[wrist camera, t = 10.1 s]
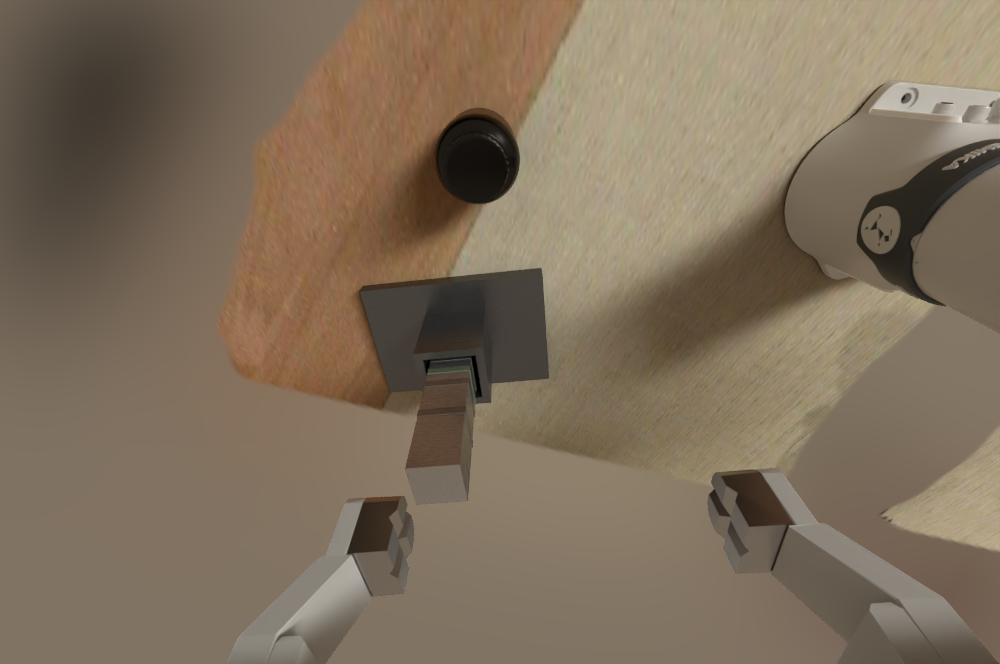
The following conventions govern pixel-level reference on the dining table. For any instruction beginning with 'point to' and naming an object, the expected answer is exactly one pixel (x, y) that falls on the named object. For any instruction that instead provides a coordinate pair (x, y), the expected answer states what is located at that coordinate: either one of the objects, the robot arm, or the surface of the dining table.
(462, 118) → the supplement bottle
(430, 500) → the column
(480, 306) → the stand
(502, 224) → the dining table surface
